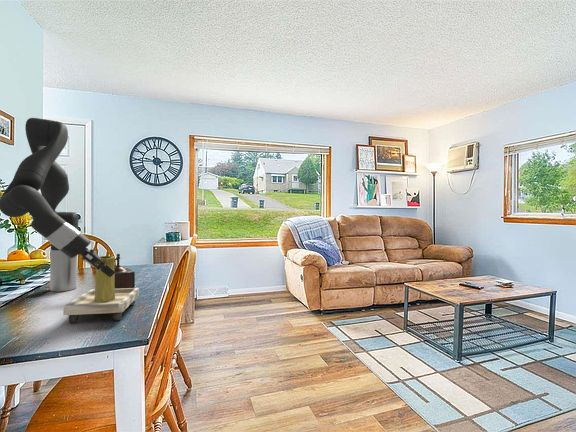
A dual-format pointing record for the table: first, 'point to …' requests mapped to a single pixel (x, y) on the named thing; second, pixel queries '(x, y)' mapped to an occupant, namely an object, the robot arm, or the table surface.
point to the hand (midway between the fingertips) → (110, 272)
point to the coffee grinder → (123, 276)
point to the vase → (105, 282)
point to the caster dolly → (100, 304)
